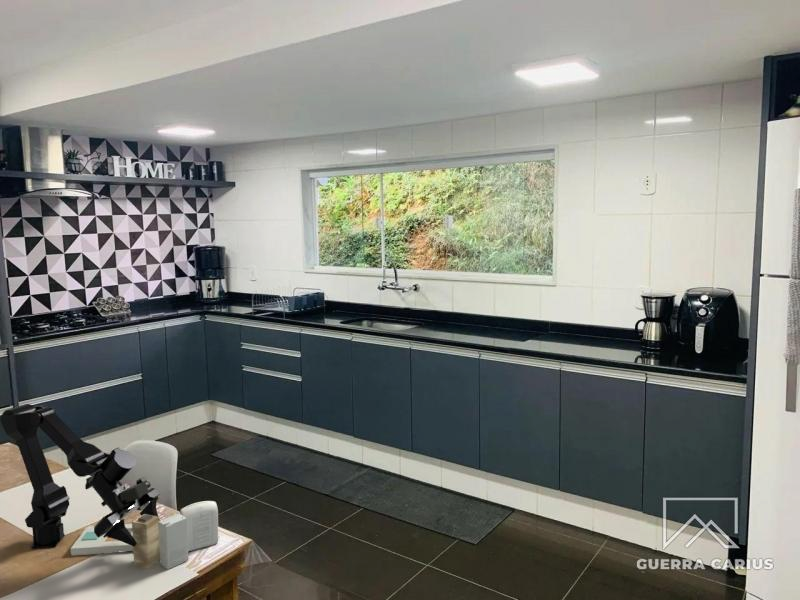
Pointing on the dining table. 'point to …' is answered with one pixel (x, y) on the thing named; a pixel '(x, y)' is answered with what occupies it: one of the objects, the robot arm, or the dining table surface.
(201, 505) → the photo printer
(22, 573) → the dining table surface
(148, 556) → the plug
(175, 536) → the skincare box
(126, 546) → the panel
